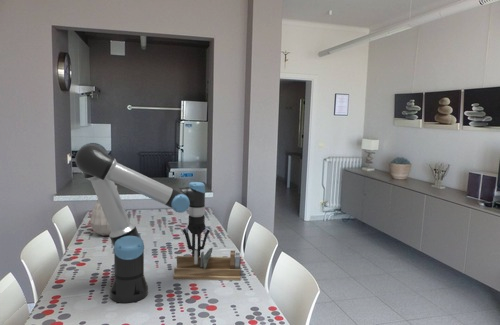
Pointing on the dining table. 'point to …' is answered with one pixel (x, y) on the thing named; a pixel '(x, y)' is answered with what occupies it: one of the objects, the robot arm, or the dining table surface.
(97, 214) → the vase
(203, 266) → the bookend
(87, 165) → the robot arm
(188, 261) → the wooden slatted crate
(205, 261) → the stone
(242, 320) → the dining table surface
